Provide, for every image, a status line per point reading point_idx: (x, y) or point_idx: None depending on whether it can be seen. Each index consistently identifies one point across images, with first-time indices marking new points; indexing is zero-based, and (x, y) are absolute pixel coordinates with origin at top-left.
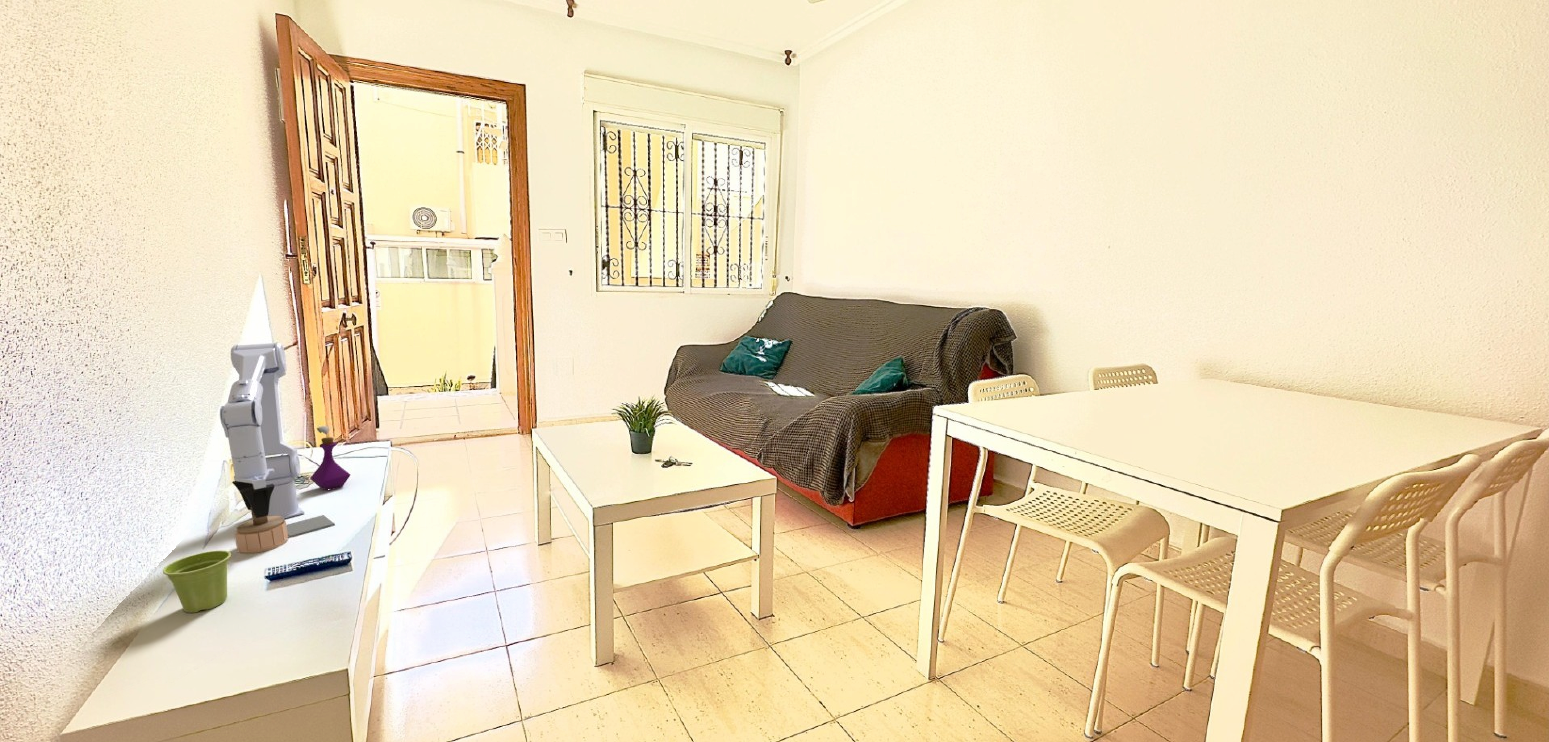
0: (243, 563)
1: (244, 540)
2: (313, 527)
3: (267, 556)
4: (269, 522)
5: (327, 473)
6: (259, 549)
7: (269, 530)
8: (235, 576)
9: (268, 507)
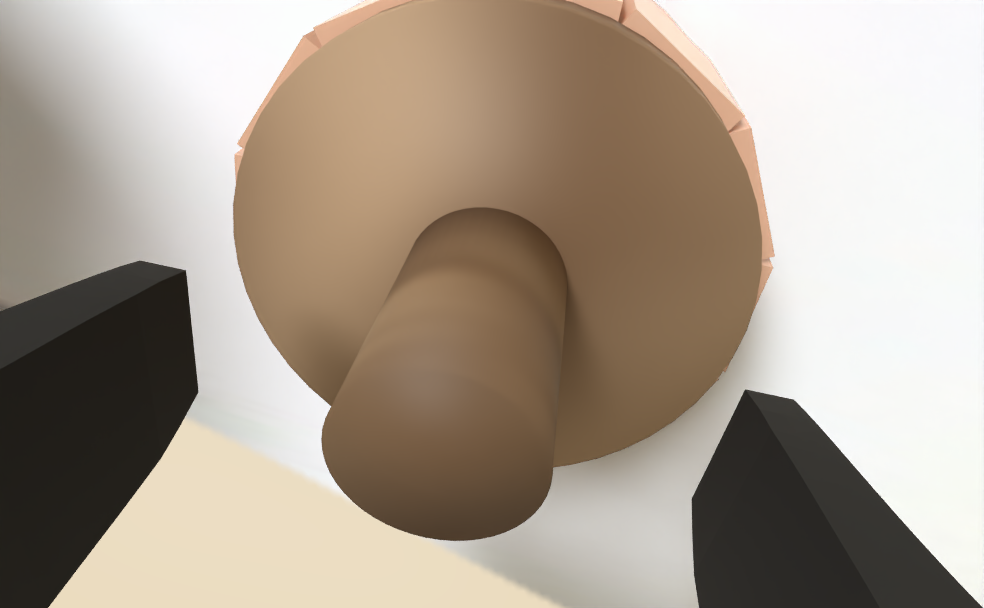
0: None
1: None
2: None
3: (864, 283)
4: (584, 224)
5: None
6: None
7: (765, 283)
8: (981, 524)
9: (886, 510)
